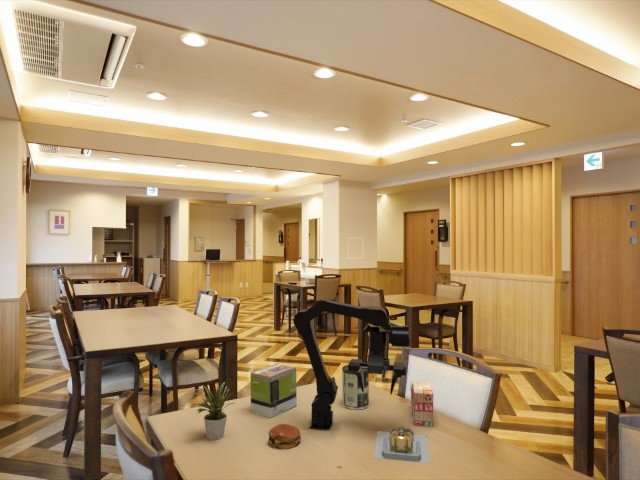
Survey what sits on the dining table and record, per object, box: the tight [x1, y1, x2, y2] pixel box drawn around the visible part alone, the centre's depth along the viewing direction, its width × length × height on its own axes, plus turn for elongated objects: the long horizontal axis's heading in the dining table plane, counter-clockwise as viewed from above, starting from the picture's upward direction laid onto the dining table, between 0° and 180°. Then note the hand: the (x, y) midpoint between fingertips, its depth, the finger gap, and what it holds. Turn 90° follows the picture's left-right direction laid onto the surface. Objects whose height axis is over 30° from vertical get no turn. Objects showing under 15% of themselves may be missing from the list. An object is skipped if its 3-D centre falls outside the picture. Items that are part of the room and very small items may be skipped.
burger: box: [268, 423, 302, 450], centre depth 133 cm, size 10×9×5 cm
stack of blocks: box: [410, 381, 434, 427], centre depth 154 cm, size 21×6×12 cm, turn 171°
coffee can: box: [341, 364, 370, 410], centre depth 166 cm, size 10×10×14 cm
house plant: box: [193, 381, 236, 441], centre depth 139 cm, size 14×14×16 cm
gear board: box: [373, 430, 430, 464], centre depth 129 cm, size 15×18×3 cm
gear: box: [389, 426, 415, 441], centre depth 133 cm, size 7×7×3 cm
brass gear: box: [390, 430, 413, 454], centre depth 126 cm, size 7×7×5 cm
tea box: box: [250, 363, 298, 419], centre depth 161 cm, size 15×10×15 cm, turn 144°
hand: (376, 393), depth 144 cm, fingers open, 9 cm apart
